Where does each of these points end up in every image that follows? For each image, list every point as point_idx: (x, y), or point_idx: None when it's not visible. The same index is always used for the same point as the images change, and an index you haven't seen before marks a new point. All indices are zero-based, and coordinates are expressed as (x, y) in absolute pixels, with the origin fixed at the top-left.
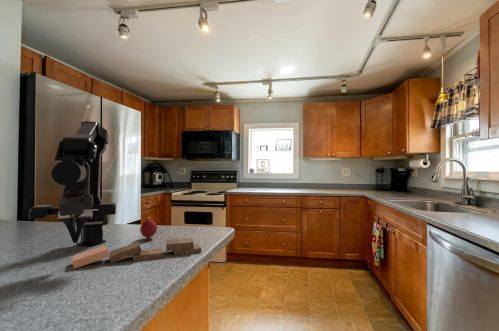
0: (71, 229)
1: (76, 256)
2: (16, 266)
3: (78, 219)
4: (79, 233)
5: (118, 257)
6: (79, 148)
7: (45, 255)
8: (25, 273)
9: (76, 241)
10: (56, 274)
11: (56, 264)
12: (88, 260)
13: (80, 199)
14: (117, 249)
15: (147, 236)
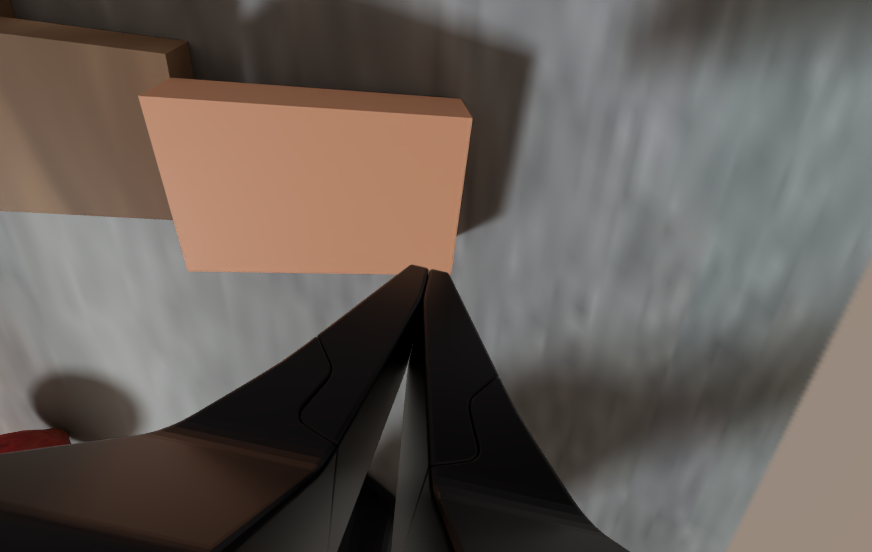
0: (459, 393)
1: (433, 229)
2: (747, 381)
3: (205, 531)
4: (353, 314)
5: (94, 37)
6: None
7: (575, 463)
8: (761, 214)
9: (413, 269)
10: (598, 28)
11: (554, 283)
12: (344, 98)
13: None
14: (118, 200)
15: (43, 434)
